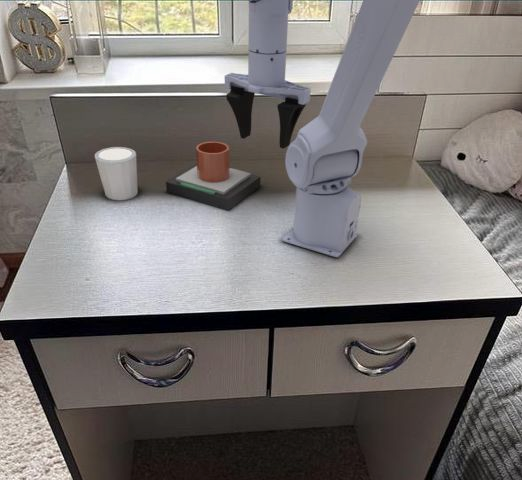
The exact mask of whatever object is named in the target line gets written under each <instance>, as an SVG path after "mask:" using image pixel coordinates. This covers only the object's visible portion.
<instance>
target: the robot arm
mask: <svg viewBox="0 0 522 480" xmlns="http://www.w3.org/2000/svg"><path fill="white" fill-rule="evenodd" d="M420 1H421V0H362V2H361V5H360V8H359V10H358V12H357V15H356V18H355V19H354V20H355V21H354V23H353V26H352V29H351V31H350V33H349V36H348V38H347V41H346V44H345V47H344V48H343V51H342V53H341V57H340V59H339V62H338V64H337V67H336V69H335V72H334V75H333V78H332V80H331V82H330V86H329V88H328V91H327V93H326V96H325V98H324V100H323V104H322V106H321V109H320V112H319V114H318V116H316V117H315V118H313V119H312V120H311V121H309V122H308V123H306V124H305V125H304V126H302V127H301V128H300V129H299V130H298V132H297V135H296V138H295V139H294V140H293V141H292V142H291V139H292V136H293V133H294V130H295V127H296V124H297V122H298V120H299V118H300V116H301V114H302V112H303V111H304V109H305V107H306V105H307V104H308V103H310V101H311V92H312V91H311V87H307V86H303V85H301V84H297V83H294V82H291V81H288V80H286V65H287V48H288V30H289V29H288V28H289V27H288V25H289V15H290V14H292V10H293V5H294V0H248V47H247V48H248V51H247V52H248V55H247V56H248V60H247V61H248V62H247V63H248V66H247V68H248V69H247V71H248V73H247V74H244V73H235V72H229V73H227V74H224V89H227V90H229V92H228V93H226V95H225V96H226V97H225V98H226V100H227V102H228V104H229V106H230V107H231V110H232V112H233V114H234V117H235V120H236V125H237V127H238V131H239V135H240V138H241V139H243V140H245V139H246V138H248V137H250V136H251V133H252V114H253V106H254V105H253V104H254V99H255V95H257V94H258V95H263V96H266V97H271V98H272V97H273V98H275V99H276V98H277V99H283V100H284V101H282V102H280V103H279V104H277V106H276V107H277V113H278V119H279V143H278V144H279V148H280V149H285V148H287V150H286V153H285V163H284V164H285V171H286V173H287V176H288V178H289V180H290V181H291V183H292V184H293V185H294V186H295V187H296V189H295V203H294V213H293V214H294V218H293V227H292V229H291V230H289V231H288V232H287V233H286V234H285V235H284V236H283V237H282V242H284V243H288V244H290V245H294V246H298V247H300V248H303V249H307V250H311V251H314V252H317V253H319V254H323V255H327V256H330V257H333V258H339V257H340V256H341V255H342V254H343V253H344V252H345V250H347V248H348V247H349V246H350V245H351V244H352V242H353V241H354V240H355V239H356V238H357V236H358V233H357V228H358V222H359V217H360V210H361V204H362V195H361V193H360V192H359V191H357V190H354V189H352V188H351V187H349V186H350V185H351V184H352V178H353V177H356V175H357V174H358V173H359V172H360V171H361V168H362V163H363V155H364V152H365V149H366V147H367V145H368V140H367V136H366V134H365V132H364V131H363V129H362V127H361V125H362V123H363V121H364V119H365V118H366V117H365V116H366V114H367V112H368V110H369V109H370V106H371V104H372V102H373V101H374V98H375V95H376V93H377V91H378V89H379V87H380V85H381V84H382V81H383V79H384V78H385V74H386V73H387V71H388V68H389V66H390V64H391V62H392V60H393V58H394V55H395V54H396V51H397V49H398V47H399V45H400V43H401V41H402V39H403V37H404V35H405V33H406V31H407V30H408V26H409V25H410V22H411V21H412V18H413V16H414V14H415V12H416V9H417V7H418V5H419V3H420Z"/></svg>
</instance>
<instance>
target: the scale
mask: <svg viewBox="0 0 522 480" xmlns="http://www.w3.org/2000/svg"><path fill="white" fill-rule="evenodd" d="M165 187H166V193H168V194H171V195H174V196H178V197H181V198H185V199H188V200H191V201H195V202H199V203H202V204H205V205H208V206H212V207H215V208H218V209H223V210H226V211H230V210H231V209H233V208H234V207H235V206H236V205H238V204H239V203H240V202H242V201H243V200H244V199H247V197H249V196H250V195H252V194H253V193H254V192H256V191H257V190H258V189H260V187H261V176H260V175H256V174H253V173H251V172H248V171H243V170H240V169H235V168H231V167H230V173H229V178H228V179H227V180H225V181H222V182H205V181H202V180H201V179H199V178H198V174H197V163H195V164H194V165H191V166H190V167H189V168H187V169H185V170H183V171H181V172H180V173H178V174H176V175H175V176H173V177H171V178H170V179H168V180H167V181H165Z"/></svg>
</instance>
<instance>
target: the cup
mask: <svg viewBox="0 0 522 480" xmlns="http://www.w3.org/2000/svg"><path fill="white" fill-rule="evenodd" d="M195 157H196V164H197V174H198V178H199V179H201V180H202V181H205V182H222V181H225V180H227V179H228V178H229V173H230V168H231V167H230V165H231V163H230V160H231V159H230V146H229V145H228V144H227V143H224V142H220V141H205V142H201V143H199V144H197V145H196V147H195Z"/></svg>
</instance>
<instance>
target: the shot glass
mask: <svg viewBox="0 0 522 480" xmlns="http://www.w3.org/2000/svg"><path fill="white" fill-rule="evenodd" d="M94 159H95V163H96V165H97V171H98V174H99V178H100V180H101V185H102V187H103V192H104V195H105V197H106V198H108V199H110V200H113V201H125V200H130V199H133V198H135V197H137V195H138V194H139V191H138V190H139V188H138V171H137V170H138V169H137V168H138V167H137V164H138V163H137V152H136V151H135V150H134V149H132V148H129V147H126V146H125V147H124V146H112V147H111V146H110V147H106V148H102V149H100V150H98V151H96V152H95V154H94Z"/></svg>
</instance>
